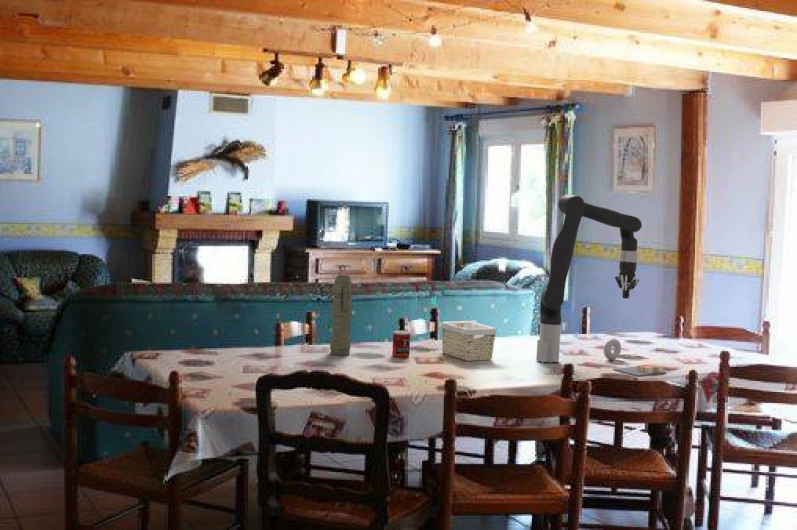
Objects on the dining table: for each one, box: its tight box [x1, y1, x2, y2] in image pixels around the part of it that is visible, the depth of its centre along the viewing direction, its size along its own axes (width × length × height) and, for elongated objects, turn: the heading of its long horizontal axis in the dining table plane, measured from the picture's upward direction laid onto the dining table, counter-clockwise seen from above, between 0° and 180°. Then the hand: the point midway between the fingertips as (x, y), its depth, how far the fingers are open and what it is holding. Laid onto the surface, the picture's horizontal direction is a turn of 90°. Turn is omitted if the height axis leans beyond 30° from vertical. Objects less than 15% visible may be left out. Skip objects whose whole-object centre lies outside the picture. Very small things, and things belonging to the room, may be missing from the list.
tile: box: [635, 363, 664, 374], centre depth 430 cm, size 9×2×7 cm
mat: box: [612, 366, 667, 377], centre depth 430 cm, size 18×14×1 cm
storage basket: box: [441, 320, 497, 362], centre depth 447 cm, size 24×16×15 cm
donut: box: [603, 338, 622, 361], centre depth 456 cm, size 10×4×10 cm, turn 125°
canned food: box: [391, 330, 411, 359], centre depth 439 cm, size 8×8×11 cm
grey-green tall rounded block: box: [329, 274, 353, 357], centre depth 437 cm, size 9×12×35 cm
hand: (625, 298), depth 451 cm, fingers closed
